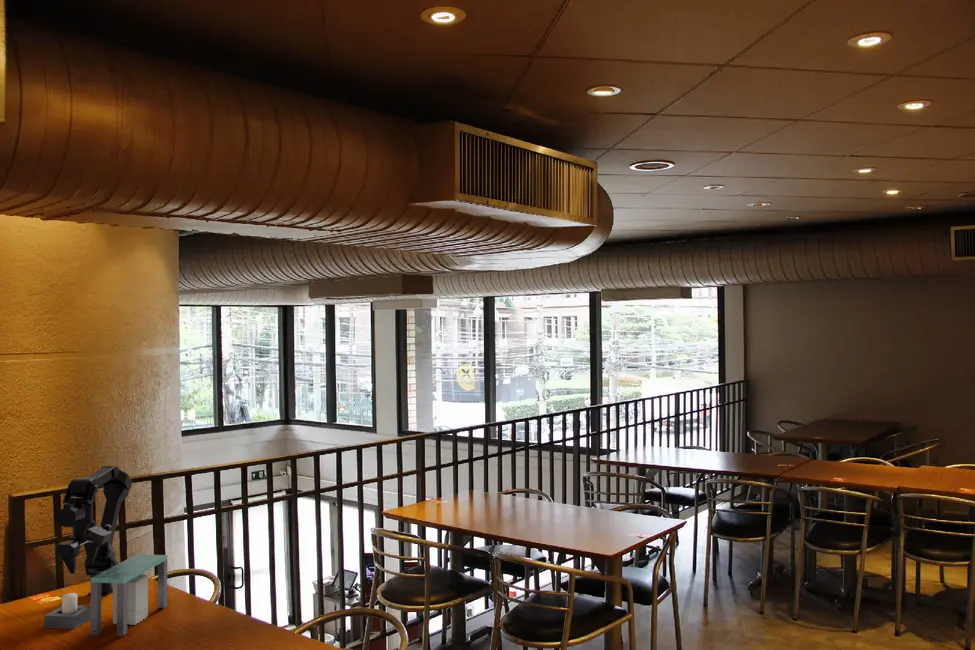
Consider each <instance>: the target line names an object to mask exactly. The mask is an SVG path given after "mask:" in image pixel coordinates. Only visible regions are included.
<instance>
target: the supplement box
mask: <svg viewBox="0 0 975 650" xmlns="http://www.w3.org/2000/svg"><path fill="white" fill-rule="evenodd" d="M148 580H149V575H147V574H145V575H144V574H143V575H138V576H137V577H135V578H133V579H131V580H130V581H128V613H127V624H129V625H130V626H131V625H133V626H136V625H138V624H140V623H141V622H142V621H144V620H145V619H146V618H148V617H147V616H149V581H148ZM112 588H113V592H112V624H113V625H117V583H112ZM143 619H144V620H143ZM140 621H141V622H140ZM137 623H138V624H137Z"/></svg>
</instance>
